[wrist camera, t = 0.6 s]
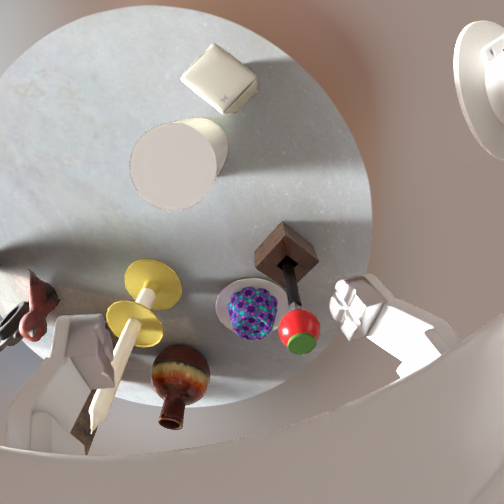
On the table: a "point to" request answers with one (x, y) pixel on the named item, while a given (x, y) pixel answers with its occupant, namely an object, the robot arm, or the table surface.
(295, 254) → the block
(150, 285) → the candle
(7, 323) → the headphones
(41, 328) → the stuffed fox
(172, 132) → the white cylinder
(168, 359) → the vase
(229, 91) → the box
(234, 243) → the table surface
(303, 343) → the joystick
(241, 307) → the pudding
